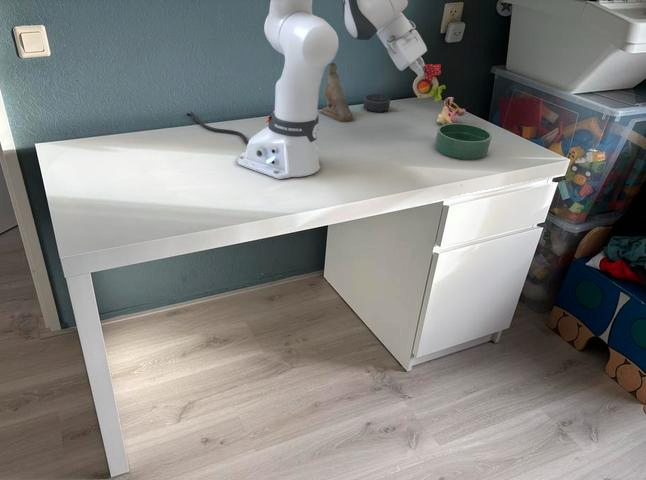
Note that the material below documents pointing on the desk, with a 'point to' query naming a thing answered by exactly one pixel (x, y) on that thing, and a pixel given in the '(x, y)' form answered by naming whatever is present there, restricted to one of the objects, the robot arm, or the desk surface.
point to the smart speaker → (376, 103)
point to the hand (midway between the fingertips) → (423, 74)
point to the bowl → (463, 141)
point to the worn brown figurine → (336, 98)
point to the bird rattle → (424, 85)
